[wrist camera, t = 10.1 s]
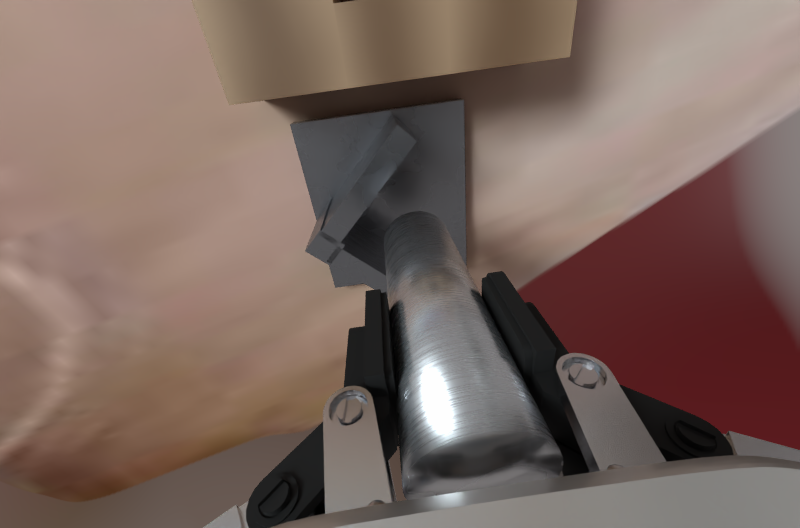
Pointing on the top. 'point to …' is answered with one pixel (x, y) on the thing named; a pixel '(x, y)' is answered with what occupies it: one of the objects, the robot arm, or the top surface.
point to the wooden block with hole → (372, 41)
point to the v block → (381, 181)
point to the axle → (455, 374)
